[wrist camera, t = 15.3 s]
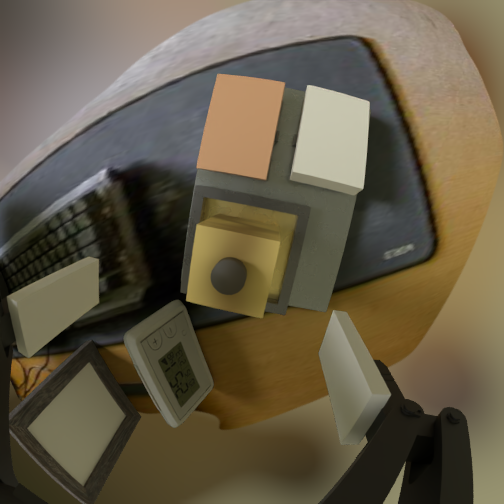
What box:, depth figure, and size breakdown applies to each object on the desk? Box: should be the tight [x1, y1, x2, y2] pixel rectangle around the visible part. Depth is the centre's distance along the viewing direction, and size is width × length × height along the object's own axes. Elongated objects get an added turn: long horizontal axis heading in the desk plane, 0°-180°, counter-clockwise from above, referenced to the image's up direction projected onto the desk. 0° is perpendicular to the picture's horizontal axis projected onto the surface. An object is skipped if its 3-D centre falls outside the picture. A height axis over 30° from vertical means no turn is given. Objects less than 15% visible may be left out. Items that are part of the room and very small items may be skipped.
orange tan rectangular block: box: [196, 74, 285, 181], centre depth 23 cm, size 6×9×2 cm, turn 169°
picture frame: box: [9, 340, 141, 504], centre depth 27 cm, size 16×2×21 cm, turn 19°
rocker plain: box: [290, 85, 370, 195], centre depth 22 cm, size 6×9×2 cm, turn 169°
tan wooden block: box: [186, 214, 281, 318], centre depth 23 cm, size 6×6×9 cm
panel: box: [181, 88, 371, 315], centre depth 27 cm, size 16×22×4 cm
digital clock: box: [124, 300, 214, 428], centre depth 29 cm, size 14×8×9 cm, turn 2°
